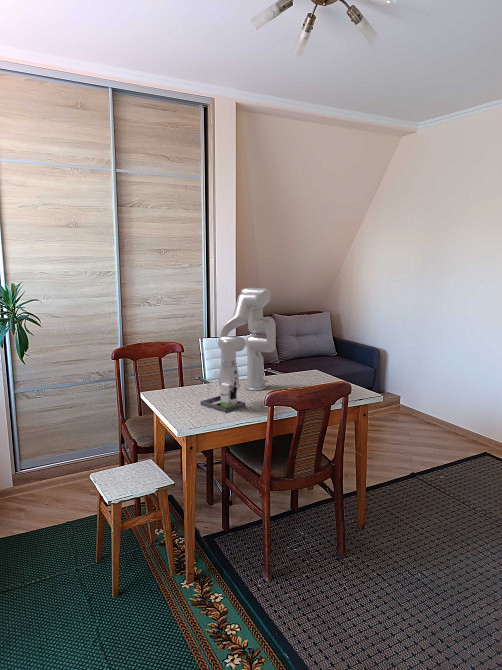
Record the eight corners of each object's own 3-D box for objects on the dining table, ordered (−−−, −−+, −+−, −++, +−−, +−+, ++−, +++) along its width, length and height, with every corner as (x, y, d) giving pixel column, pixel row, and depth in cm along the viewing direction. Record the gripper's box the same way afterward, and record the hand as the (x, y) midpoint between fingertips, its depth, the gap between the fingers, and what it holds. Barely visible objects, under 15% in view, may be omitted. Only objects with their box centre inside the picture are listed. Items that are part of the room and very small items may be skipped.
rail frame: (219, 399, 255) (219, 395, 255) (245, 406, 242) (245, 402, 242) (200, 405, 245) (200, 401, 244) (226, 412, 232) (226, 408, 232)
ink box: (228, 408, 236) (228, 385, 234) (220, 406, 238) (219, 384, 236) (237, 403, 243) (237, 381, 241) (229, 402, 246) (229, 380, 244)
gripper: (246, 364, 234) (246, 399, 237) (222, 359, 246) (222, 393, 248) (235, 367, 229) (235, 402, 232) (211, 362, 240) (212, 396, 243)
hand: (228, 397), depth 240 cm, fingers closed on ink box, 5 cm apart
